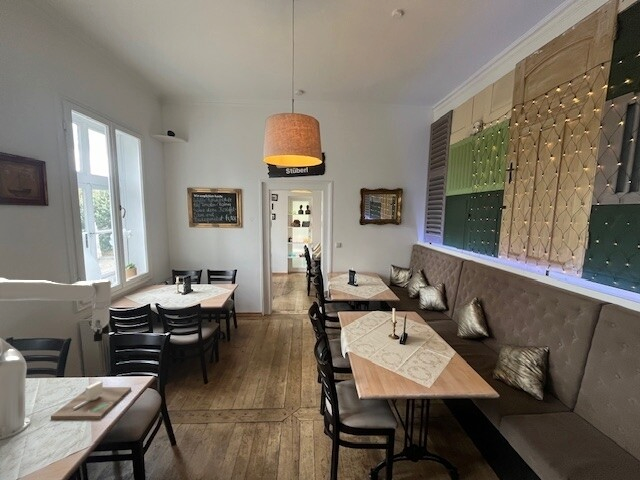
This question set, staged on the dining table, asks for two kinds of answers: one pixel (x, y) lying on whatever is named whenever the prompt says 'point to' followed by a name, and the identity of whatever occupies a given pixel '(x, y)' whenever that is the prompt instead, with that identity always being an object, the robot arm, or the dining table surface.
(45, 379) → the dining table surface
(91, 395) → the peg knob
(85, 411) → the panel
